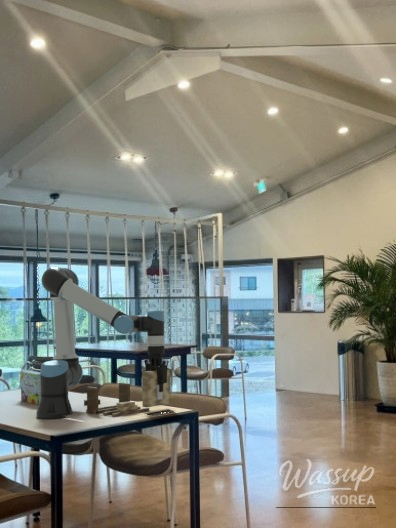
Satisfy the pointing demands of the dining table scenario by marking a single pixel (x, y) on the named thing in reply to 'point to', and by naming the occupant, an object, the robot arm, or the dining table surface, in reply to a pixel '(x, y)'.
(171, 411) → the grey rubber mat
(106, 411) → the rack
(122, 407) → the offcut stack
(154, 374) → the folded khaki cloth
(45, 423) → the dining table surface
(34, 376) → the snack box
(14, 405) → the dining table surface
